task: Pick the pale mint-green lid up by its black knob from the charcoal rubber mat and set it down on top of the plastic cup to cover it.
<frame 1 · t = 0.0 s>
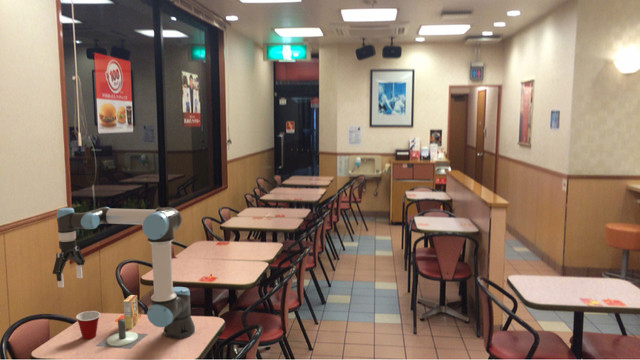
hand: (70, 282, 241), 28 cm above the table, tool pointing down, fingers open, 13 cm apart
candy box: (131, 326, 257), on the table
lid: (122, 339, 240), point 1 cm above the table, touching mat
mat: (122, 341, 240), on the table
plastic cup: (90, 338, 244), on the table
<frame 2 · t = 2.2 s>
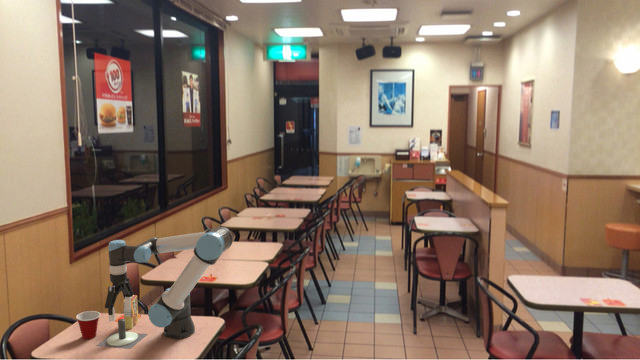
hand: (120, 315, 238), 13 cm above the table, tool pointing down, fingers open, 13 cm apart
nothing on the table moved.
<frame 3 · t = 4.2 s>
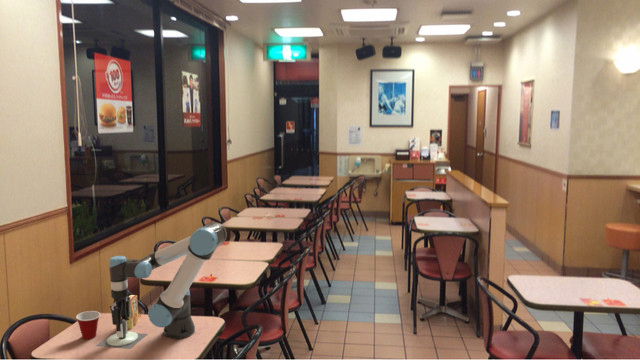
hand: (122, 335, 240), 3 cm above the table, tool pointing down, fingers closed on lid, 3 cm apart
lid: (122, 339, 240), point 1 cm above the table, touching gripper
everything else where it was.
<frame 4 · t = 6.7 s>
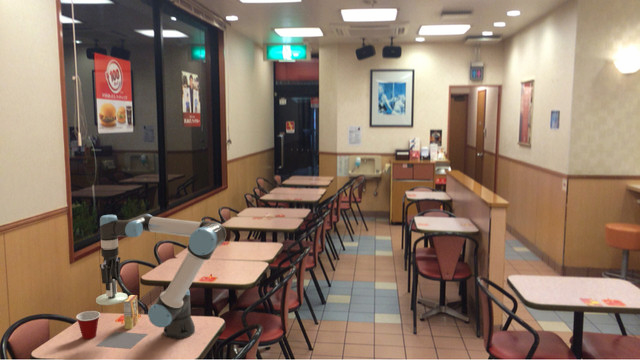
hand: (111, 294, 238), 23 cm above the table, tool pointing down, fingers closed on lid, 3 cm apart
lid: (112, 299, 238), point 21 cm above the table, touching gripper
everything else where it was.
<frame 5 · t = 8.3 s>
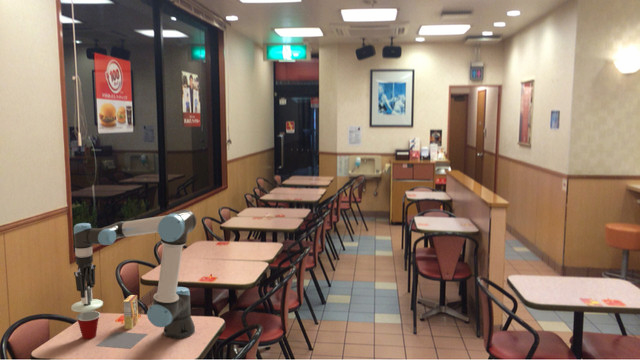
hand: (87, 301, 241), 18 cm above the table, tool pointing down, fingers closed on lid, 3 cm apart
lid: (87, 306, 242), point 16 cm above the table, touching gripper
everything else where it was.
when the fingers open (16 cm above the table, at t = 9.3 s): lid drops 3 cm, resting on plastic cup.
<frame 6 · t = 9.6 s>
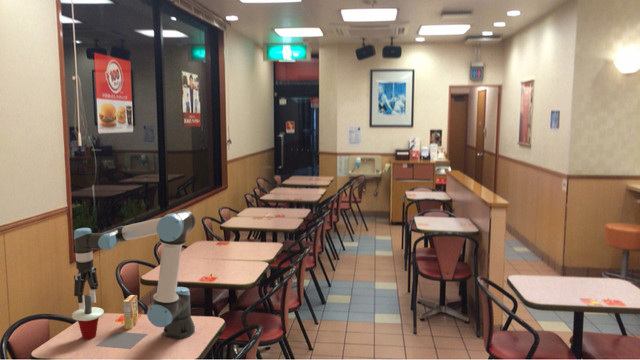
hand: (87, 305, 242), 17 cm above the table, tool pointing down, fingers open, 8 cm apart
lid: (88, 314, 242), point 12 cm above the table, touching plastic cup
plastic cup: (90, 338, 244), on the table, touching lid
everything else where it was.
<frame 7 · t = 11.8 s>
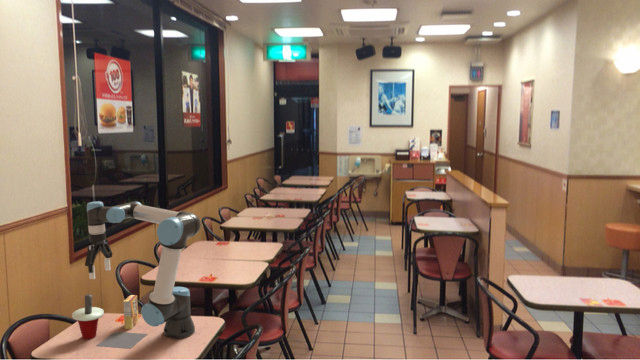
hand: (100, 274, 247), 30 cm above the table, tool pointing down, fingers open, 13 cm apart
nothing on the table moved.
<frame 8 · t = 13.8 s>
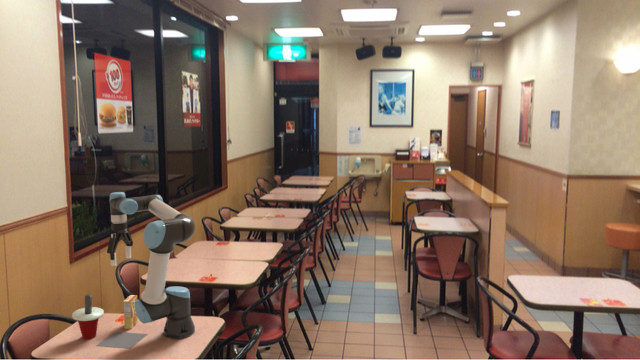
hand: (121, 261, 259), 33 cm above the table, tool pointing down, fingers open, 13 cm apart
nothing on the table moved.
at the end: lid 0.1 cm off-centre on the plastic cup, point 12.2 cm above the plastic cup's base; lid tilted 5°; plastic cup tilted 0° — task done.
